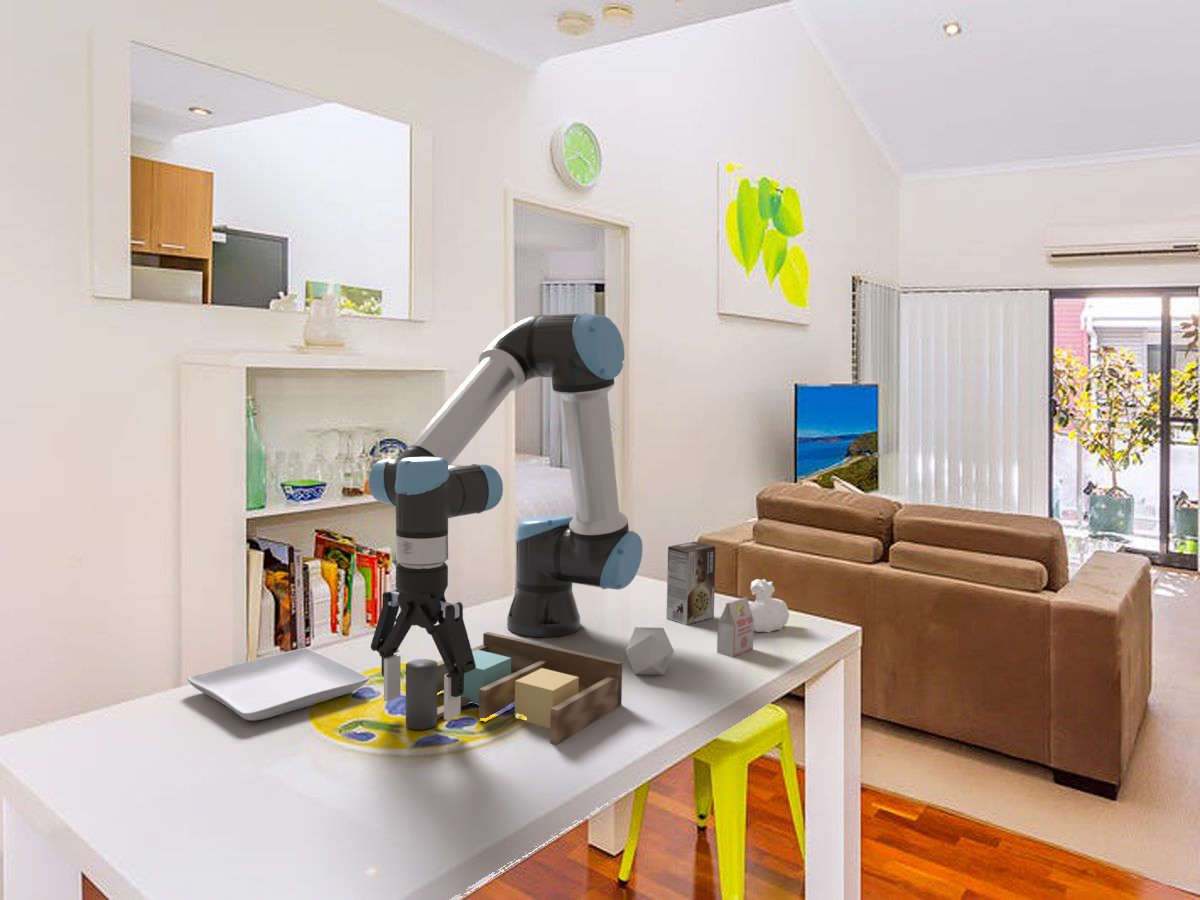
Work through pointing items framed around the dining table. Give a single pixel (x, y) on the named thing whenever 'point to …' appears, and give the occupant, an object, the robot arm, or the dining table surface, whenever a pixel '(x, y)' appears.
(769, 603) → the bust
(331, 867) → the dining table surface
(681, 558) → the food box
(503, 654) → the lane rack
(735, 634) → the white gable top carton
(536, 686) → the block
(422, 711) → the block
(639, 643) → the die
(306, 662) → the salad plate
